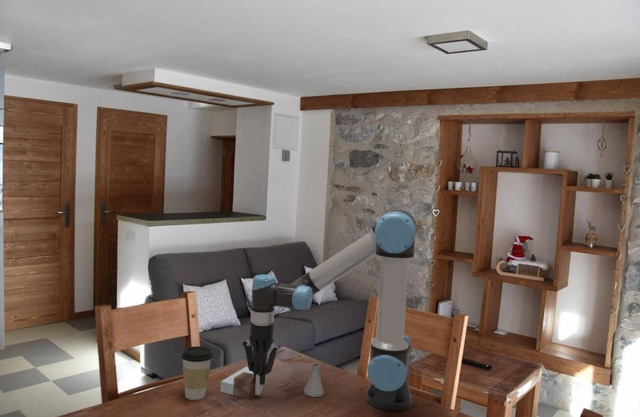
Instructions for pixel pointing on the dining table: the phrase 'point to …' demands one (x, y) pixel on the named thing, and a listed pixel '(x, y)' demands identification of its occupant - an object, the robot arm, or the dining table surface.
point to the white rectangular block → (232, 381)
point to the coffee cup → (196, 371)
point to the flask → (314, 383)
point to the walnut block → (244, 385)
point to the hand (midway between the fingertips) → (258, 393)
